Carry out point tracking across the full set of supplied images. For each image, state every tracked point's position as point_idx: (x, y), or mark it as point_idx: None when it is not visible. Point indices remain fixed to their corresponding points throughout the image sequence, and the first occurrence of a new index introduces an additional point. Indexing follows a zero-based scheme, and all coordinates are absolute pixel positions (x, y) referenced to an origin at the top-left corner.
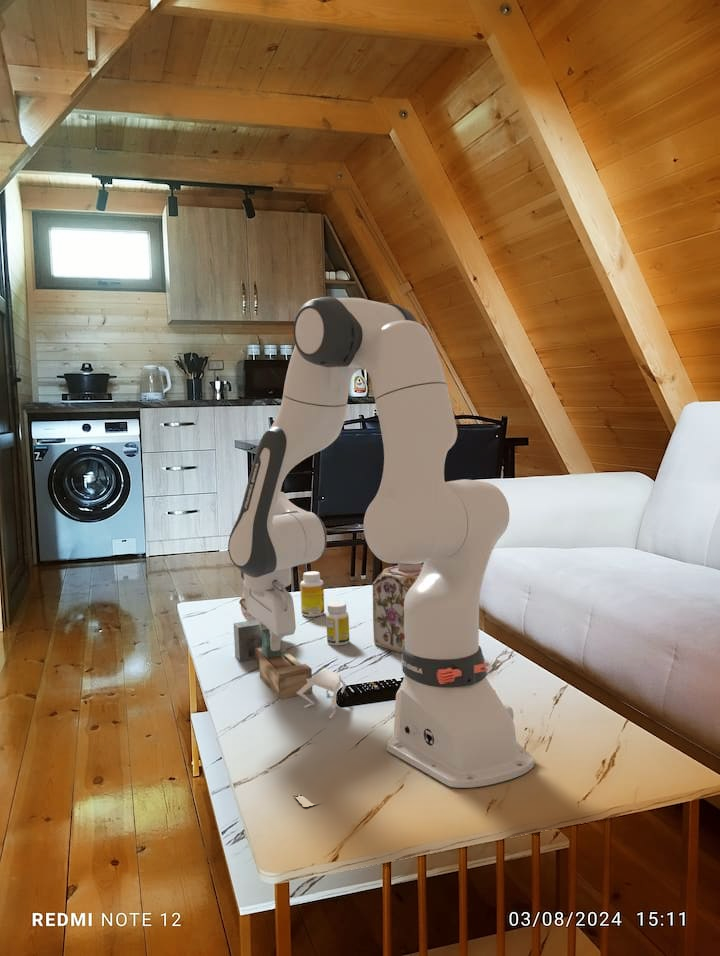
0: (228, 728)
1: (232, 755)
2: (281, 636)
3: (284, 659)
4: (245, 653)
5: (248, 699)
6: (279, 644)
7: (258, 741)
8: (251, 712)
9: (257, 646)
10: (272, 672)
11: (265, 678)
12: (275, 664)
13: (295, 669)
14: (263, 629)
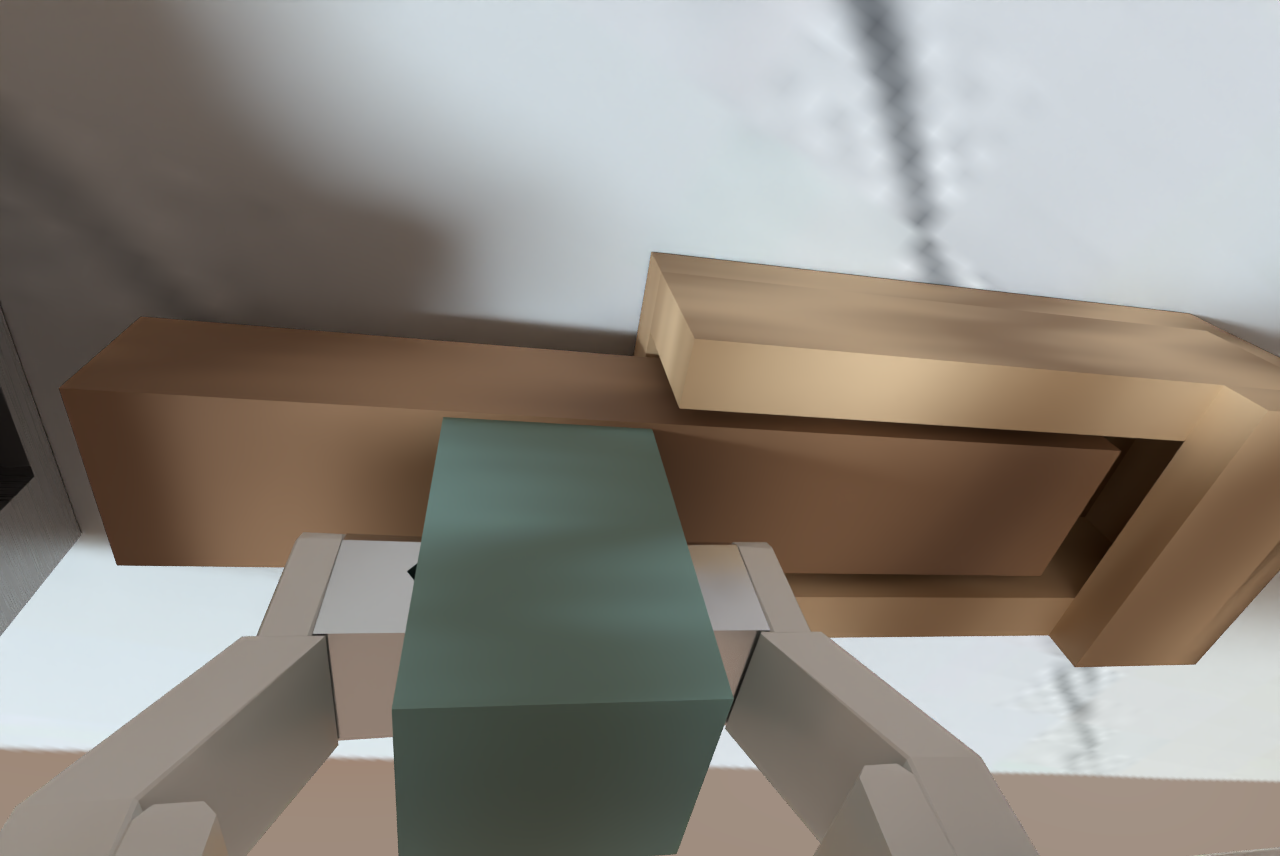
0: (1082, 759)
1: (1251, 775)
2: (907, 701)
3: (804, 447)
4: (17, 538)
5: (898, 651)
6: (787, 596)
7: (1275, 705)
8: (1046, 673)
9: (113, 539)
10: (1006, 631)
11: None
12: (854, 556)
13: (1258, 542)
14: (262, 807)
